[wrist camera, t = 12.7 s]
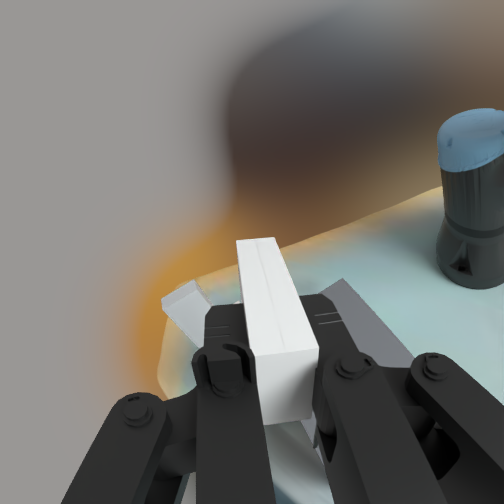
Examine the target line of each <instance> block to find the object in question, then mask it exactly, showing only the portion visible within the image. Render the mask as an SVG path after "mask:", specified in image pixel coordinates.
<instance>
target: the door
mask: <svg viewBox="0 0 504 504" xmlns="http://www.w3.org/2000/svg"><path fill="white" fill-rule="evenodd" d="M161 302H162V309H163V311H164V312H165V313H166V314H167V315H168V316H169V317H170V318H171V319H172V320H173V322H174V323H175V324H176V325H177V326H178V327H179V328H180V329H181V330H182V331H183V332H184V333H185V334H186V335H187V336H188V337H189V338H190V339H191V341H192V342H193V343H194V344H195V345H196V346H197V347H198V348H199V349H200V348H201V347H203V346H204V329H205V328H204V324H205V315H206V314H207V312H208V311H209V309H210V308H211V307H212V306H214V305H213V304H212V302H211V301H210V300H209V298H208V297H207V296H206V294H205V293H204V292H203V291H202V289H201V288H200V287H199V285H198V284H197V283H196V281H195V280H194V279H193V280H192V281H190V282H188V283H187V284H185V285H183V286H182V287H180V288H178V289H177V290H175V291H173V292H172V293H170V294H168V295H167V296H165V297H164V298H162V299H161ZM239 303H240V302H239V301H237V302H236V303H234V304H239Z"/></svg>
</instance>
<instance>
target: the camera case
mask: <svg viewBox="0 0 504 504" xmlns="http://www.w3.org/2000/svg"><path fill="white" fill-rule="evenodd" d="M321 293H322V294H323V295H324V296H326V297H327V298H328V299H330V300H331V301H332V302H333V303H334V305H335V307H336V309H337V311H338V313H339V314H340V316H341V318H342V321H343V322H344V324H345V326H346V327H347V329H348V331H349V333H350V335H351V337H352V339H353V340H354V342H355V344H356V346H357V348H358V350H359V352H363V353H365V354H367V355H369V356H371V357H372V358H373V359H374V360H375V361H376V363H377V364H378V365H379V366H384V367H401V368H410V366H411V364H412V361H413V360H414V359H415V358H414V357H413V355H412V354H411V353H410V352H409V351H408V350H407V348H406V347H405V346H404V345H403V344H402V343H401V342H400V340H399V339H398V338H397V337H396V336H395V335H394V334H393V333H392V331H391V330H390V329H389V328H388V327H387V326H386V325H385V324H384V322H383V321H382V320H381V319H380V318H379V317H378V316H377V315H376V314H375V312H374V311H373V310H372V309H371V308H370V307H369V306H368V305H367V304H366V303H365V302H364V300H363V299H362V298H361V297H360V296H359V295H358V294H357V293H356V292H355V291H354V290H353V289H352V287H351V286H350V285H349V284H348V283H347V282H346V281H345V280H344V279H343V278H342V279H340V280H339V281H337V282H336V283H334V284H332V285H331V286H329V287H328V288H326V289H325V290H323V291H321V292H320V293H318V294H321ZM300 421H301V423H302V425H303V427H304V429H305V431H306V432H307V434H308V436H309V438H310V440H311V442H312V444H313V440H314V434H315V428H316V418H315V414H314V411H313V410H312V418H311V419H306V420H300ZM315 450H316V452H317V454H318V456H319V457H320V459H321V461H322V463H323V460H322V456H321V452H320V449H319V445H318V446H317V448H315ZM323 465H324V463H323Z"/></svg>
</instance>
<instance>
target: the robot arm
mask: <svg viewBox="0 0 504 504" xmlns="http://www.w3.org/2000/svg"><path fill="white" fill-rule="evenodd" d="M437 142H438V153H439V155H438V163H439V165H440V168H441V177H442V185H443V196H444V209H445V216H444V220H443V223H442V226H441V229H440V232H439V235H438V238H437V244H436V250H437V261H438V264H439V266H440V268H441V270H442V271H443V272H444V274H445V275H446V276H447V277H448V278H450V279H451V280H452V281H454V282H455V283H457V284H459V285H462V286H465V287H468V288H473V289H487V288H492V287H495V286H498V285H500V284H502V283H504V111H501V110H499V111H495V109H488V108H486V109H474V110H469V111H465V112H462V113H459V114H457V115H455V116H453V117H451V118H450V119H448V120H447V121H446V122H445V123H444V124H443V125H442V126H441V128H440V129H439V132H438V136H437ZM236 245H237V257H238V269H239V280H240V292H241V302H242V303H239V304H229V305H217V306H212V307H211V308H210V309H209V311H208V312H207V314H206V315H205V324H204V328H205V329H204V346H203V347H201V348H200V349H199V350H198V351H197V352H196V353H195V354H194V356H193V359H192V362H191V364H192V368H193V372H194V376H195V380H196V384H197V386H196V387H195V388H194V389H193V390H191V391H190V392H188V393H187V394H184V395H182V396H180V397H177V398H173V399H170V400H166V401H162V400H161V399H160V398H159V397H158V396H155V395H152V394H150V393H141V392H137V393H133V394H129V395H126V396H125V397H123V398H122V399H120V400H118V401H117V403H116V404H115V405H114V406H113V407H112V409H111V411H110V413H109V414H108V416H107V418H106V420H105V421H104V423H103V425H102V427H101V429H100V430H99V432H98V434H97V436H96V438H95V440H94V441H93V443H92V445H91V447H90V449H89V451H88V453H87V454H86V456H85V458H84V460H83V462H82V464H81V466H80V468H79V470H78V471H77V473H76V475H75V477H74V479H73V481H72V483H71V485H70V487H69V489H68V491H67V492H66V494H65V496H64V498H63V500H62V502H61V504H181V501H182V498H183V495H184V492H185V489H186V485H187V482H188V479H189V475H190V473H192V472H196V504H276V500H275V494H274V488H273V482H272V475H271V469H270V463H269V457H268V451H267V444H266V438H265V432H264V425H272V424H279V423H287V422H293V421H300V420H306V419H311V418H312V410H313V411H314V414H315V418H316V428H315V434H314V440H313V448H317V446H318V445H319V449H320V452H321V456H322V460H323V463H324V467H325V470H326V474H327V478H328V481H329V485H330V489H331V492H332V496H333V500H334V504H504V405H502V404H501V403H500V402H499V401H498V400H497V399H496V398H495V397H494V396H493V395H491V394H490V393H489V392H488V391H487V390H486V389H485V388H484V387H483V386H481V385H480V384H479V383H478V382H477V381H476V380H475V379H473V378H472V377H471V376H470V375H469V374H468V373H467V372H466V371H464V370H463V369H462V368H461V367H460V366H459V365H457V364H456V363H455V362H454V361H453V360H452V359H450V358H448V357H447V356H445V355H442V354H439V353H424V354H421V355H418V356H417V357H416V358H415V359H414V360H413V361H412V364H411V366H410V368H401V367H384V366H379V365H378V364H377V363H376V361H375V360H374V359H373V358H372V357H371V356H369V355H367V354H365V353H363V352H359V350H358V348H357V346H356V344H355V342H354V340H353V339H352V337H351V335H350V333H349V331H348V329H347V327H346V326H345V324H344V322H343V321H342V318H341V316H340V314H339V313H338V311H337V309H336V307H335V305H334V303H333V302H332V301H331V300H330V299H328V298H327V297H326V296H324V295H323V294H322V293H321V294H313V295H305V296H298V294H297V291H296V289H295V286H294V284H293V281H292V279H291V277H290V274H289V272H288V269H287V267H286V264H285V262H284V260H283V257H282V255H281V252H280V250H279V248H278V245H277V243H276V240H275V238H274V237H270V238H259V239H247V240H237V241H236Z"/></svg>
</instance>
